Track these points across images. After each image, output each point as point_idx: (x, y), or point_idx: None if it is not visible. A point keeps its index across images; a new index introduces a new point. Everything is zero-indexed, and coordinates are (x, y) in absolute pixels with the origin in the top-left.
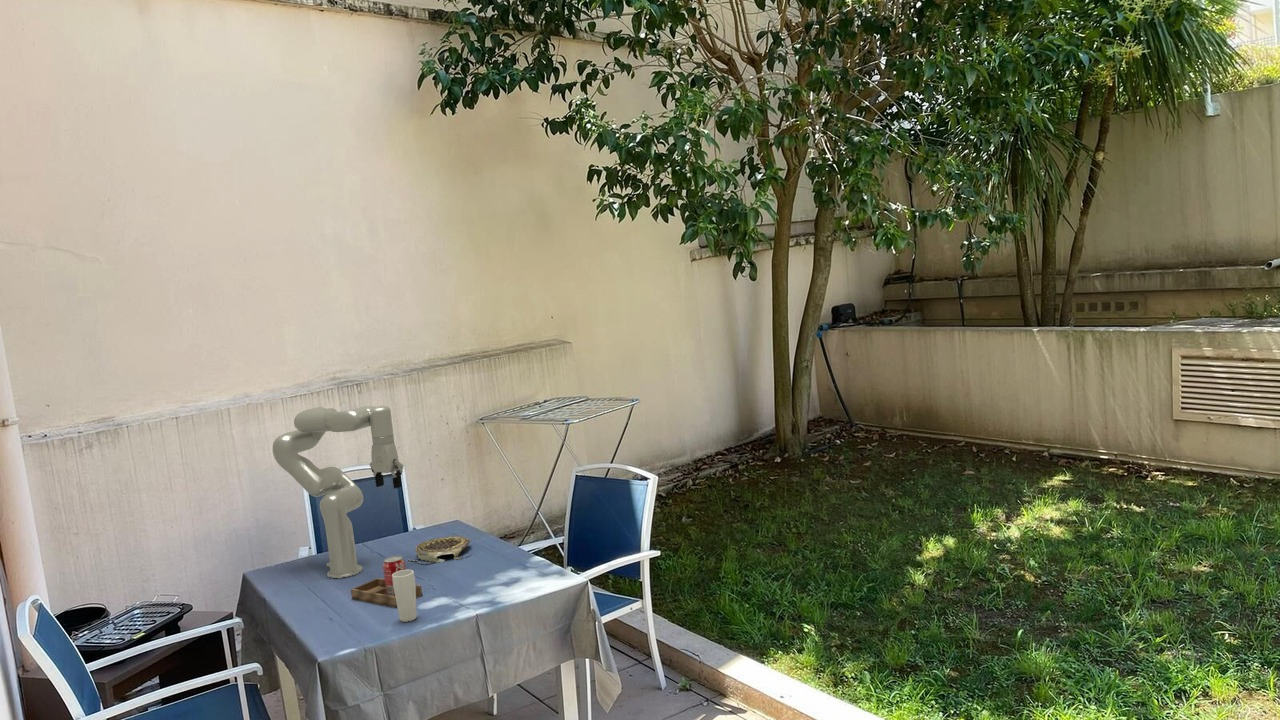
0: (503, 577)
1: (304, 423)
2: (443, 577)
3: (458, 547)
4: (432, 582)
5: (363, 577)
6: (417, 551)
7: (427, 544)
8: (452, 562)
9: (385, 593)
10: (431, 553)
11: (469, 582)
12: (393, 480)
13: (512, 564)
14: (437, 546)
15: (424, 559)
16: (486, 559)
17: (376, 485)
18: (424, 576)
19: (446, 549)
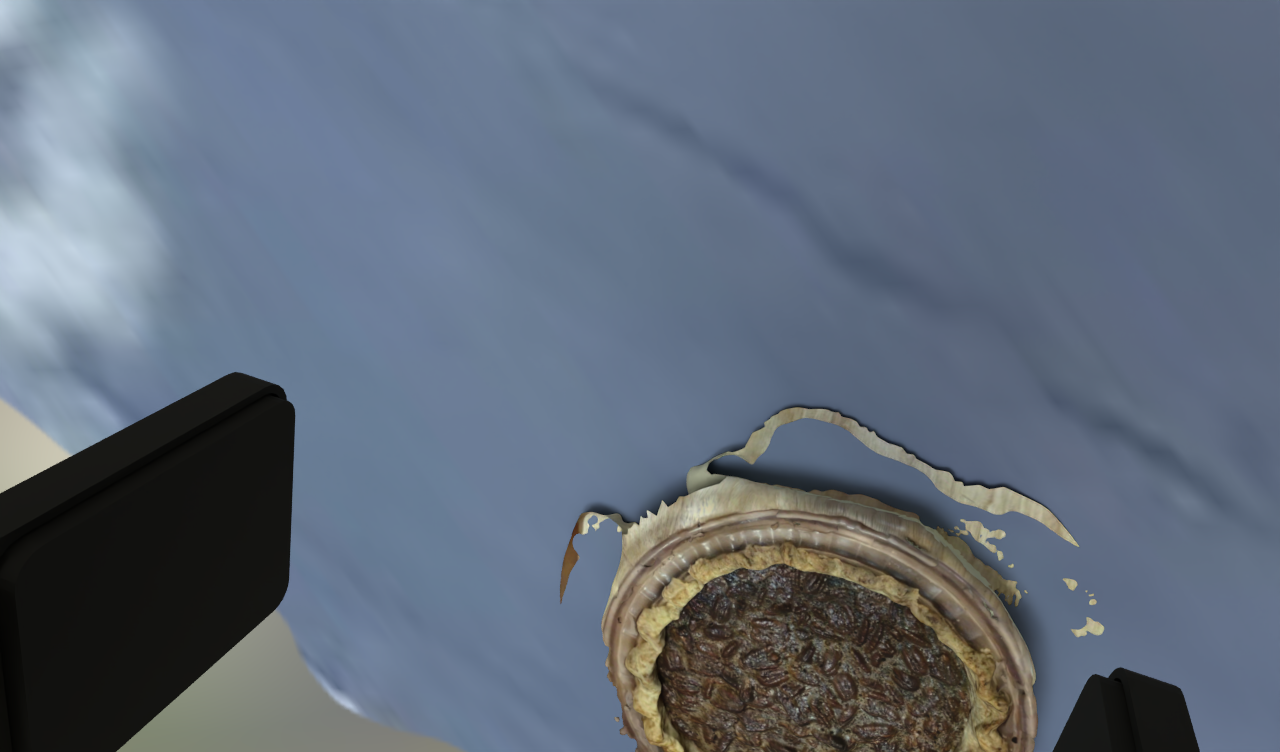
0: (81, 187)
1: None
2: (462, 145)
3: (627, 626)
4: (473, 28)
5: (1275, 57)
6: (949, 565)
7: (972, 735)
8: (607, 457)
9: None
10: (765, 501)
11: (214, 69)
12: (45, 486)
13: None
14: (847, 684)
15: (871, 505)
16: (404, 507)
17: (1149, 696)
18: (630, 151)
19: (696, 589)
